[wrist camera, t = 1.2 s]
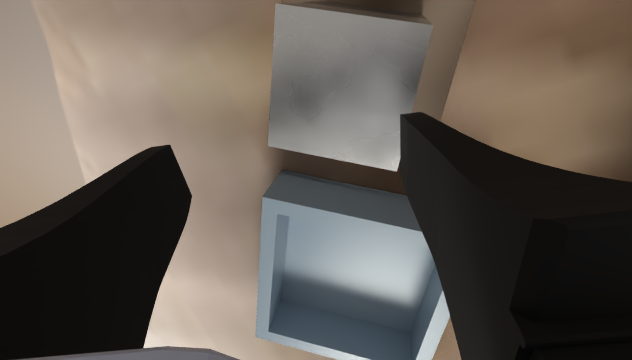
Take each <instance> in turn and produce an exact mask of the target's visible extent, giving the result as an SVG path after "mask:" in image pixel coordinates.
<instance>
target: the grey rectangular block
mask: <svg viewBox="0 0 632 360" xmlns="http://www.w3.org/2000/svg"><path fill="white" fill-rule="evenodd" d="M432 29H433V24H432V23H431V22H430V21H429V20H428V19H427V18H426V17H425V16H423V15H422V14H417V13H410V12H402V11H395V10H387V9H380V8H373V7H365V6H358V5H350V4H343V3H336V2H328V1H316V2H294V3H276V5H275V24H274V42H273V61H272V80H271V98H270V117H269V135H268V146H270V147H275V148H280V149H285V150H290V151H295V152H300V153H305V154H310V155H316V156H321V157H326V158H331V159H336V160H341V161H346V162H351V163H356V164H361V165H366V166H371V167H376V168H381V169H386V170H392V171H397V169H398V165H399V161H400V114H407V113H412V109H413V105H414V101H415V97H416V93H417V89H418V85H419V81H420V77H421V73H422V69H423V65H424V61H425V57H426V53H427V49H428V45H429V41H430V37H431V33H432Z"/></svg>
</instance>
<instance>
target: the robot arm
mask: <svg viewBox="0 0 632 360" xmlns="http://www.w3.org/2000/svg"><path fill="white" fill-rule="evenodd" d="M400 169H401V175H402V179H403V183H404V187H405V190H406V194H407V197H408V200H409V202H410V205H411V207H412V209H413V212H414V214H415V217H416V219H417V221H418V224H419V226H420V228H421V231H422V233H423V235H424V238H425V240H426V242H427V245H428V247H429V249H430V252H431V254H432V257H433V260H434V263H435V265H436V269H437V272H438V275H439V279H440V282H441V286H442V289H443V292H444V296H445V299H446V303H447V307H448V310H449V314H450V317H451V321H452V324H453V328H454V332H455V336H456V340H457V344H458V347H459V351H460V355H461V359H462V360H632V182H626V181H620V180H614V179H608V178H602V177H597V176H591V175H586V174H581V173H576V172H572V171H567V170H563V169H559V168H555V167H551V166H547V165H543V164H540V163H536V162H533V161H529V160H526V159H523V158H520V157H517V156H514V155H512V154H509V153H506V152H503V151H500V150H498V149H495V148H493V147H490V146H488V145H486V144H484V143H481V142H479V141H477V140H475V139H473V138H471V137H469V136H466V135H464V134H462V133H461V132H459V131H457V130H455V129H453V128H451V127H449V126H447V125H446V124H444V123H442V122H440V121H438V120H436V119H435V118H433V117H431V116H429V115H427V114H425V113H423V112H415V113H407V114H400ZM191 199H192V195H191V192H190V190H189V188H188V185H187V183H186V181H185V178H184V176H183V174H182V171H181V169H180V167H179V164H178V162H177V160H176V157H175V155H174V153H173V150H172V148H171V146H170V145H164V146H156V147H151V148H148V149H146V150H144V151H142V152H140V153H138V154H136V155H134V156H133V157H131V158H129V159H128V160H126V161H124V162H123V163H121V164H119V165H118V166H116V167H115V168H113V169H111V170H110V171H108V172H106V173H105V174H103V175H102V176H100V177H98V178H97V179H95V180H93V181H92V182H90V183H88V184H86V185H85V186H83V187H81V188H80V189H78V190H76V191H74V192H73V193H71V194H69V195H68V196H66V197H64V198H63V199H60V200H59V201H57V202H55V203H53V204H51V205H49V206H47V207H45V208H43V209H41V210H39V211H37V212H35V213H33V214H31V215H29V216H27V217H25V218H23V219H21V220H18V221H16V222H14V223H11V224H9V225H7V226H4V227H2V228H0V360H239V359H236V358H234V357H231V356H228V355H225V354H222V353H220V352H217V351H214V350H211V349H203V348H186V347H170V346H166V347H154V348H143V347H144V343H145V338H146V334H147V330H148V326H149V322H150V319H151V315H152V312H153V308H154V304H155V301H156V297H157V294H158V291H159V288H160V285H161V283H162V280H163V277H164V275H165V273H166V270H167V268H168V265H169V263H170V261H171V258H172V256H173V253H174V251H175V249H176V246H177V244H178V241H179V239H180V236H181V234H182V231H183V229H184V226H185V224H186V221H187V217H188V213H189V209H190V204H191Z"/></svg>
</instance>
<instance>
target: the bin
mask: <svg viewBox="0 0 632 360" xmlns="http://www.w3.org/2000/svg"><path fill="white" fill-rule="evenodd" d="M449 317H450V314H449V310H448V307H447V303H446V299H445V296H444V292H443V289H442V286H441V282H440V279H439V275H438V272H437V269H436V265H435V263H434V260H433V257H432V254H431V252H430V249H429V247H428V245H427V242H426V240H425V238H424V235H423V233H422V231H421V228H420V226H419V224H418V221H417V219H416V217H415V214H414V212H413V209H412V207H411V205H410V202H409V200H408V197H407V195H402V194H397V193H392V192H387V191H382V190H377V189H373V188H368V187H363V186H358V185H353V184H348V183H343V182H339V181H334V180H329V179H324V178H319V177H314V176H309V175H305V174H300V173H295V172H290V171H285V170H281V172H280V173H279V175H278V176H277V177H276V179H275V180H274V182H273V183H272V184H271V186H270V187H269V189H268V190H267V191H266V193H265V194H264V196H263V198H262V218H261V238H260V258H259V279H258V299H257V319H256V337H258V338H261V339H265V340H268V341H272V342H276V343H279V344H283V345H287V346H290V347H294V348H297V349H301V350H305V351H308V352H312V353H315V354H319V355H323V356H326V357H330V358H334V359H337V360H432V358H433V355H434V353H435V351H436V348H437V346H438V343H439V341H440V339H441V336H442V334H443V331H444V329H445V327H446V324H447V322H448V320H449Z"/></svg>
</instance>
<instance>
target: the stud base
mask: <svg viewBox="0 0 632 360" xmlns="http://www.w3.org/2000/svg"><path fill="white" fill-rule="evenodd" d="M316 1H328V2H336V3H343V4H350V5H358V6H365V7H373V8H380V9H387V10H395V11H402V12H410V13H417V14H422V15H423V16H425V17H426V18H427V19H428V20H429V21H430V22H431V23H432V24H433V29H432V33H431V37H430V41H429V45H428V49H427V53H426V57H425V61H424V65H423V69H422V73H421V77H420V81H419V85H418V89H417V93H416V97H415V101H414V105H413V109H412V113H415V112H423V113H425V114H427V115H429V116H431V117H433V118H435V119H436V120H438V121H440V120H441V117H442V113H443V110H444V106H445V103H446V100H447V96H448V93H449V89H450V86H451V83H452V79H453V76H454V72H455V69H456V65H457V62H458V59H459V55H460V52H461V48H462V45H463V41H464V38H465V35H466V31H467V28H468V24H469V21H470V17H471V14H472V11H473V7H474V4H475V0H282V3H294V2H316Z"/></svg>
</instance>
